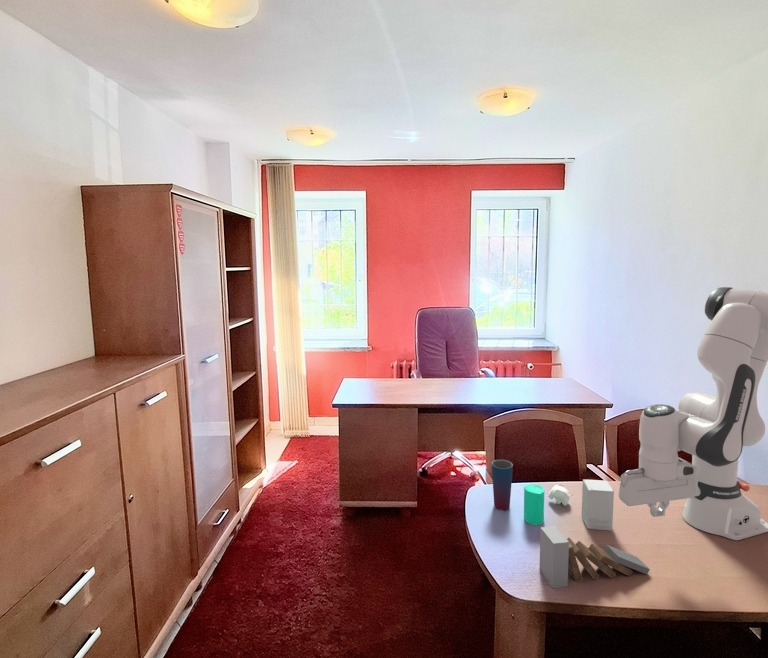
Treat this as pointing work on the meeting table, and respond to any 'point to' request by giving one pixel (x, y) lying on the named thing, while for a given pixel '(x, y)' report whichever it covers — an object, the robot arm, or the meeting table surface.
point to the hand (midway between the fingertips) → (657, 515)
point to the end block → (554, 556)
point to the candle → (534, 504)
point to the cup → (502, 483)
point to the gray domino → (626, 559)
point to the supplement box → (597, 504)
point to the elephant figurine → (560, 494)
